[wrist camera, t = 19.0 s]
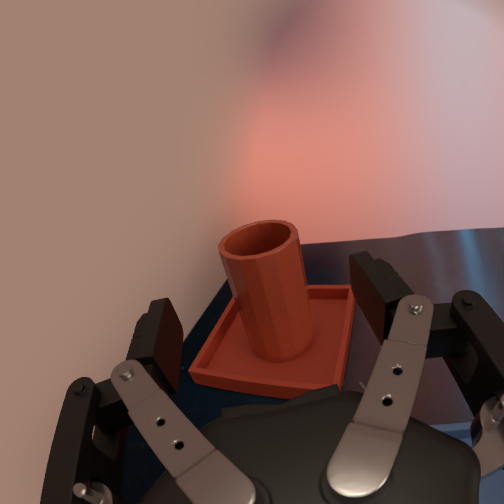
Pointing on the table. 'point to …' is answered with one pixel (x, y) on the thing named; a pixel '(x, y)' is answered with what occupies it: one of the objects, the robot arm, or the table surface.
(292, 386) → the red tray
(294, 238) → the red cup
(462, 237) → the table surface
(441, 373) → the table surface
